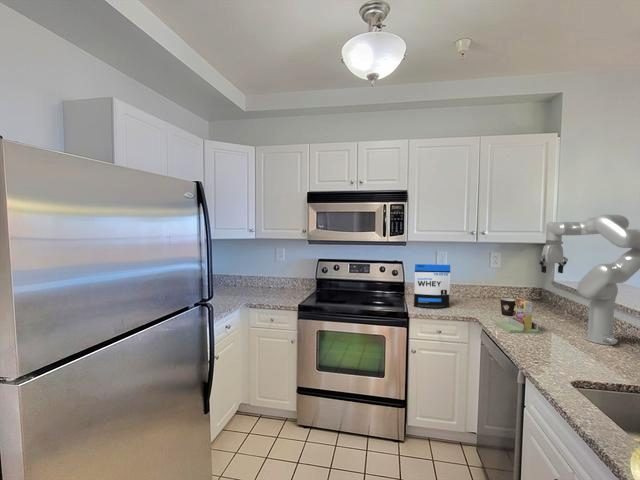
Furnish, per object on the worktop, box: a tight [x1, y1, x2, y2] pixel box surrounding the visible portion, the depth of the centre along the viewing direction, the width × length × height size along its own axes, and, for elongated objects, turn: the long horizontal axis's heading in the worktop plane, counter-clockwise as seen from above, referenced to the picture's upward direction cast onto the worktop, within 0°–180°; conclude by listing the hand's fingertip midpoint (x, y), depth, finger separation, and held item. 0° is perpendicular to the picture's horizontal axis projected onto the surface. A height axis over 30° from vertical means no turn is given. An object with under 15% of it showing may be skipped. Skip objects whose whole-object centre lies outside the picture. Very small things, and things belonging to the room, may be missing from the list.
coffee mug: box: [499, 297, 516, 317], centre depth 212 cm, size 12×9×10 cm
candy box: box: [515, 297, 533, 330], centre depth 183 cm, size 9×4×15 cm, turn 179°
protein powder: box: [413, 263, 452, 310], centre depth 230 cm, size 10×24×30 cm, turn 88°
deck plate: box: [493, 320, 543, 334], centre depth 185 cm, size 16×17×2 cm
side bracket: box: [508, 316, 539, 331], centre depth 183 cm, size 13×8×4 cm, turn 0°
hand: (552, 272), depth 194 cm, fingers open, 9 cm apart
